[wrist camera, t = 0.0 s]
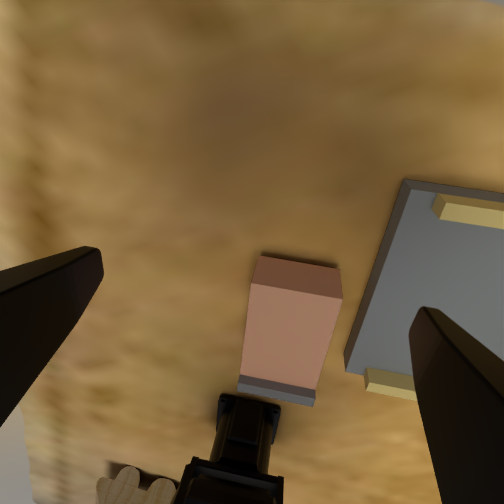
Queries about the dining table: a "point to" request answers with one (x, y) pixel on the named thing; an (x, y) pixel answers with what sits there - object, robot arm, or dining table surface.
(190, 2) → the dining table surface
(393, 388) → the dock
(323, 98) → the dining table surface
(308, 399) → the pink panel on base
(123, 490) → the toy train
